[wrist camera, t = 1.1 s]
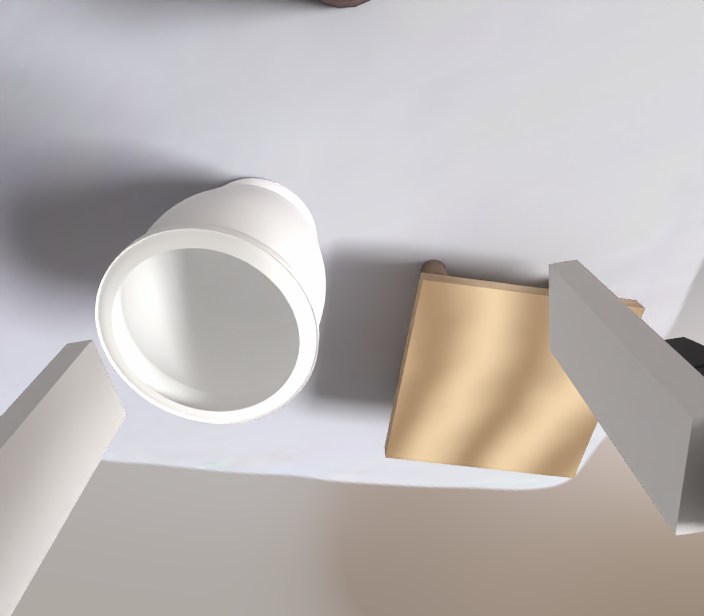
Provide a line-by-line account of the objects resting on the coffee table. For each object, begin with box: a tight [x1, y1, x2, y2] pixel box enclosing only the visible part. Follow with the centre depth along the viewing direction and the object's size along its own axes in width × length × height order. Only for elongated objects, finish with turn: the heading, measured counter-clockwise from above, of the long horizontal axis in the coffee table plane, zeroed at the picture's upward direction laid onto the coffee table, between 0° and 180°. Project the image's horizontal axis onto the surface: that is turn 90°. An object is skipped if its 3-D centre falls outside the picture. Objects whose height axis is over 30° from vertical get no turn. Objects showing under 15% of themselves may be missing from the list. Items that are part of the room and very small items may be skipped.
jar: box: [95, 178, 326, 424], centre depth 31 cm, size 11×10×15 cm
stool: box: [385, 260, 645, 478], centre depth 38 cm, size 14×14×7 cm
